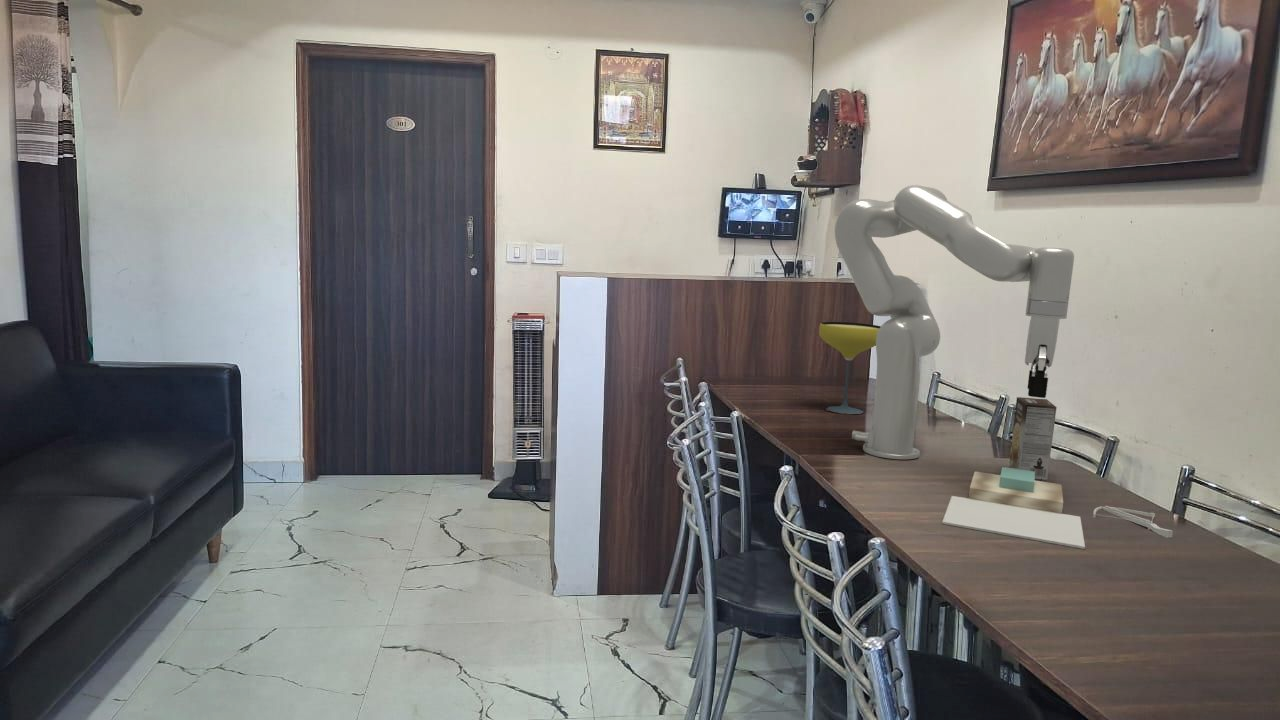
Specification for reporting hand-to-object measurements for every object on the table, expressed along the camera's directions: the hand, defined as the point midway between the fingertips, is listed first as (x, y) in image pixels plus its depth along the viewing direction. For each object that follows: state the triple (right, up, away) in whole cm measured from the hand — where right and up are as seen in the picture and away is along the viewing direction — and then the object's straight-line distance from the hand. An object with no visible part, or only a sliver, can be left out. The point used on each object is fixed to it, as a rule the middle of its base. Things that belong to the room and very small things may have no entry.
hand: (1036, 393), depth 173 cm
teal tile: (-7, -17, -7) cm, 20 cm away
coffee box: (+3, -18, +12) cm, 22 cm away
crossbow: (+9, -23, -19) cm, 31 cm away
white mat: (-15, -22, -23) cm, 35 cm away
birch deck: (-8, -20, -8) cm, 23 cm away
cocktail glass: (-22, -8, +72) cm, 76 cm away
